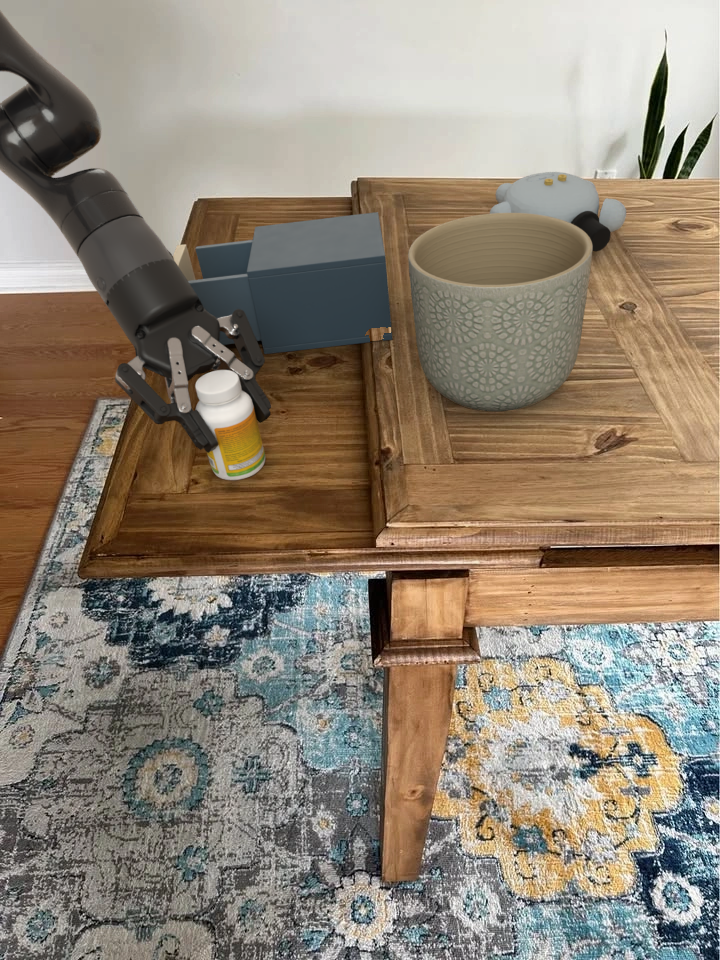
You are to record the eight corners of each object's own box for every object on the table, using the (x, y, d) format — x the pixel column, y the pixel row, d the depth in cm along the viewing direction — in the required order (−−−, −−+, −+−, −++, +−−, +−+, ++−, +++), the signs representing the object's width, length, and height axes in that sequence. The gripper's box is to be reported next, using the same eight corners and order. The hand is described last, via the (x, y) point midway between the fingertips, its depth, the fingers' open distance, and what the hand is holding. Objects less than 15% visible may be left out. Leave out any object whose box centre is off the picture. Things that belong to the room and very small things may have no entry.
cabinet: (264, 354, 88) (246, 271, 82) (270, 303, 99) (255, 226, 92) (392, 339, 88) (385, 255, 81) (385, 290, 98) (378, 211, 91)
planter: (519, 453, 69) (525, 304, 59) (384, 397, 78) (371, 260, 69) (608, 372, 77) (627, 230, 68) (478, 330, 87) (477, 201, 77)
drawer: (138, 359, 89) (115, 292, 83) (156, 312, 98) (136, 249, 93) (298, 341, 88) (286, 272, 82) (301, 295, 98) (290, 231, 92)
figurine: (464, 228, 110) (541, 289, 97) (467, 172, 104) (549, 229, 91) (560, 201, 115) (646, 256, 102) (568, 145, 109) (660, 196, 95)
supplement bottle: (276, 453, 73) (257, 369, 67) (248, 486, 69) (225, 401, 63) (231, 443, 75) (209, 361, 69) (201, 475, 71) (175, 392, 65)
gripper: (196, 273, 74) (287, 412, 75) (66, 328, 68) (167, 481, 68) (212, 233, 68) (312, 386, 68) (69, 290, 61) (181, 460, 61)
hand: (239, 433), depth 68 cm, fingers closed on supplement bottle, 5 cm apart
